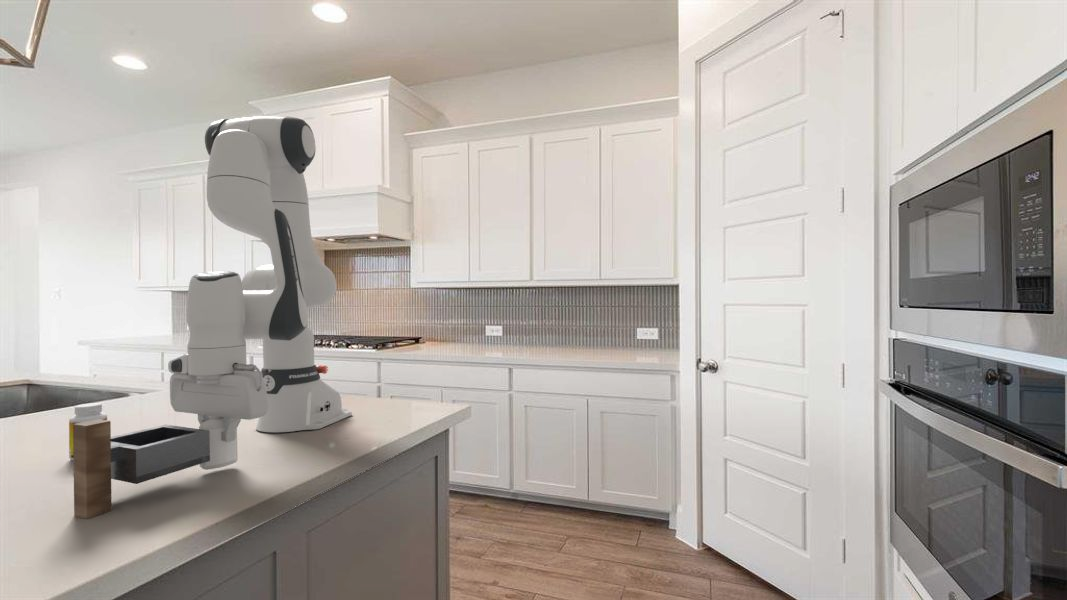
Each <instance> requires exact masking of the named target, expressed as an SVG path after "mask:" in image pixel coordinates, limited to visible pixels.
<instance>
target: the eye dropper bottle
mask: <svg viewBox="0 0 1067 600" xmlns="http://www.w3.org/2000/svg"><path fill="white" fill-rule="evenodd" d="M210 418H211V419H209V420H207V421H205V422H203V423H202V424H201V425H200V424H199V427H198V429H202V430H209V431H210V461H208V462H205V463H202V464H199V467H200V468H201V470H202V469H203V470H204V471H206V470H215V469H220V468H222V467H223V468H224V467H227V466H230V465H233V464H235V463H237V462H238V428H237V429H236V439H235V440H234V441H231V442H224V441H222V440H221V432H224V430H225V427H226V424H227V423H224V417H219V416H210Z"/></svg>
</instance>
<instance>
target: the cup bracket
mask: <svg viewBox="0 0 1067 600" xmlns="http://www.w3.org/2000/svg"><path fill="white" fill-rule="evenodd" d="M111 426H112V425H111V420H108V419H107V420H100V419H97V420H92V421H86V422H81V423H76V424H73V458H74V461H73V517H78V518H83V519H84V520H85V519H86V520H89V519H91V518H93V517H97V516H99V515H103V514H106V513H108V512H111V511H112V507H113V505H112V480H116V481H121V482H123V483H124V482H125V483H129V484H135V485H137V484H141V483H146V482H148V481H150V480H154V479H157V478H160V477H163V476H167V475H169V474H172V473H176V472H180V471H182V470H186V469H189V468H191V467H194V466H198V465H199V466H200V464H202V463H205V462H208V461H210V431H209V430H202V429H199V428H195V427H194V428H193V427H185V426H178V425H171V424H164V425H163V424H162V425H159V426H155V427H151V428H150V427H149V428H145V429H141V430H136V431H132V432H128V433H122V434H119V435H115V436H111V434H112V433H111V429H112V428H111Z"/></svg>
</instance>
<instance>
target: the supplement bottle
mask: <svg viewBox="0 0 1067 600" xmlns="http://www.w3.org/2000/svg"><path fill="white" fill-rule="evenodd" d="M97 419H100V420H107V421H108V415H107V413H106V412H103V403H101V402H91V403H81V404H78V405H75V406H74V415H72V416H71V417H70V418H69V419H68V440H69V441H68V447H69V449H68V450H69V451H68V454H69V455H68V456H69V459H70V461H72V462H74V458H73V424H76V423H81V422H86V421H92V420H97Z"/></svg>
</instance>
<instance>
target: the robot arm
mask: <svg viewBox="0 0 1067 600" xmlns="http://www.w3.org/2000/svg"><path fill="white" fill-rule="evenodd" d="M204 145H205V149H206V152H207V154H208V156H209V158H208V159H209V160H208V166H207V173H206V175H207V176H206V200H207V207H208V209H209V210H210V212H211V214H212V215H213V216H214V217H215V218H216V219H217V220H218V221H219V222H221V223H222V224H224V225H226V226H227V227H229V228H232V229H234V230H236V231H238V232H241V233H243V234H247V235H249V236H253V237H255V238H257V239H259V240H261V241H262V242H263V243H264V244H265V245H266V246H268V248H269V251H270V255H271V256H270V257H271V261H272V263H271V264H270V263H268V264H267V263H266V264H263V265H260V266H257V267H255V268H252V269H250V270H249V271H247V272H246V273H245V274H244V276H243V277H242V279H241V275H240V274H239V273H238V272H235V271H230V270H229V271H227V270H212V271H203V272H199V273H196V274H195V275H193V276H191V278H190V280H189V284H188V290H187V298H186V299H187V300H186V324H187V327H188V329H189V339H188V342H187V347H186V348H187V349H186V350H187V352H186V353H185V354H183V355H180V356H178V357H176V358H174V359H170V360H169V362H167V363H168V367H167V369H168V371H169V372H170V373H171V376H170V377H169V378H170V379H169V400H170V406H171V408H172V409H173V410H174V412H176V413H187V414H193V415H197V421H198V423H199V426H200V425H201V424H202V423H203V422H205V421H207V420H209V419H211V418H210V416H219V417H224V423H227V424H226V427H225V430H224V432H221V440H222V441H224V442H231V441H234V440H235V439H236V429H237V430H238V427H239V425H240V423H241V421H242V420H248V421H250V420H255V419H258V420H257V423H256V426H255V430H256V431H259V432H261V433H262V432H264V433H289V432H296V431H308V430H311V431H312V430H319V429H322V428H324V427H326V426H329V425H333V423H336V422H339V421H341V420H344V419H346V418H347V417H351V416H352V415H353V412H352V410H349V409H347V408H346V409H345V408H343V404H342V397H341V394H340V392H338V390H336V389H335V388H333V387H332V386H330V385H329V384H328V383H326V382H325V381H323V380H322V379H321V375H320V374H323V375H324V374H327V373H328V372H329V367H328V365H318V366H317V365H316V364H315V336H314V333H313V331H312V329H310V327H308V321H309V311H308V309H309V310H310V309H314V308H318V307H321V306H324V305H327V304H328V303H330V302H331V301H332V300H333V298H334V297H335V295H336V292H337V279H336V276H335V274H334V272H333V271H332V270H331V269H330V268H329V267H328V266H326V265H325V264H324V262H323V261H322V259H321V257H320V256H319V254H318V252H317V249H316V248H315V244H314V241H313V236H312V232H311V231H312V230H311V220H310V219H311V218H310V207H309V206H310V205H309V204H310V203H309V196H308V188H307V183H306V179H305V174H304V172H306V169H307V167H308V166H310V165H311V163H312V162H313V160H314V158H315V156H316V141H315V136H314V133H313V130H312V128H311V126H310V125H309V123H307V122H306V121H305V120H304V119H302V118H299V117H293V116H285V117H282V116H281V117H280V116H265V115H263V116H262V115H260V116H259V115H257V116H256V115H255V116H252V117H241V118H234V119H229V118H225V119H220V120H216V121H213V122H212V123H211V124H210V125H209V126H208V127H207V129H206V130H205V134H204ZM247 340H262V359H263V360H262V361H263V362H262V363H263V366H262V368H261V370H260V369H259V368H258V367H257V365H256V364H252V363H250V364H247Z"/></svg>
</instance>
